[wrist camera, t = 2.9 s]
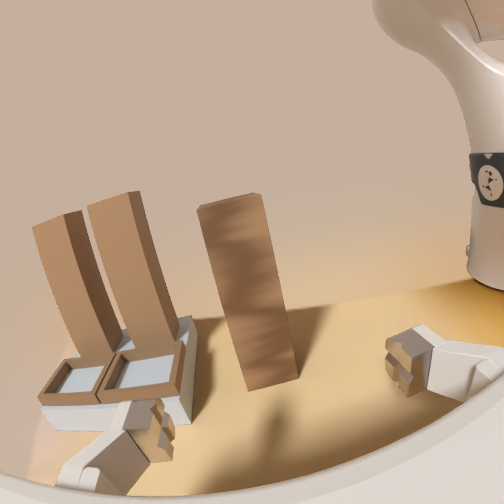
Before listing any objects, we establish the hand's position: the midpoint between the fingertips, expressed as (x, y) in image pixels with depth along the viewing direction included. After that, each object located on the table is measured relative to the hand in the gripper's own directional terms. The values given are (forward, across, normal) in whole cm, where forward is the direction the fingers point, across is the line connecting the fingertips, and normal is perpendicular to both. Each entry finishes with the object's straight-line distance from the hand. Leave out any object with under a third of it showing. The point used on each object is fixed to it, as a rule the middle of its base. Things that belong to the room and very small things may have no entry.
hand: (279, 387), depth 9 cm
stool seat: (+15, +13, +8) cm, 21 cm away
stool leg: (+12, 0, +8) cm, 15 cm away
